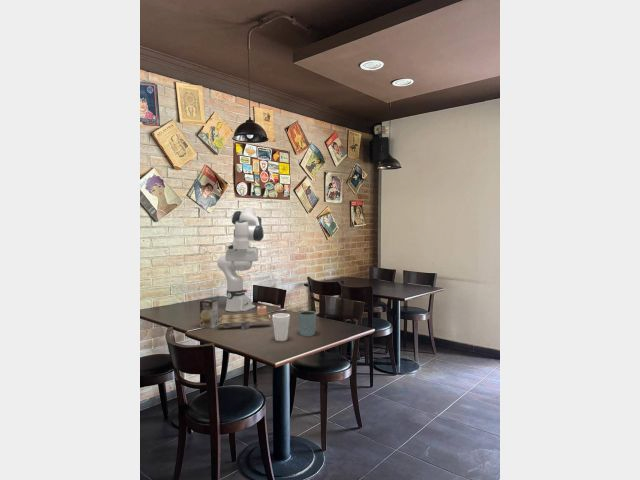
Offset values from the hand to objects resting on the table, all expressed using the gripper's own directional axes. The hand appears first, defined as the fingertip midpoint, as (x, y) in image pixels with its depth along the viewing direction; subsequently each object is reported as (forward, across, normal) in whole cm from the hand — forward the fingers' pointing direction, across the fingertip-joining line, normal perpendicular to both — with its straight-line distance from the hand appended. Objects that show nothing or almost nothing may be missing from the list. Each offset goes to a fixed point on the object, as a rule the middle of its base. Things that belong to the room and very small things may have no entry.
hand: (241, 268), depth 244 cm
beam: (+34, -5, +9) cm, 36 cm away
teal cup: (+35, -44, +18) cm, 59 cm away
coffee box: (+34, +18, +9) cm, 40 cm away
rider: (+28, -14, +6) cm, 32 cm away
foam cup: (+35, -31, +30) cm, 56 cm away
